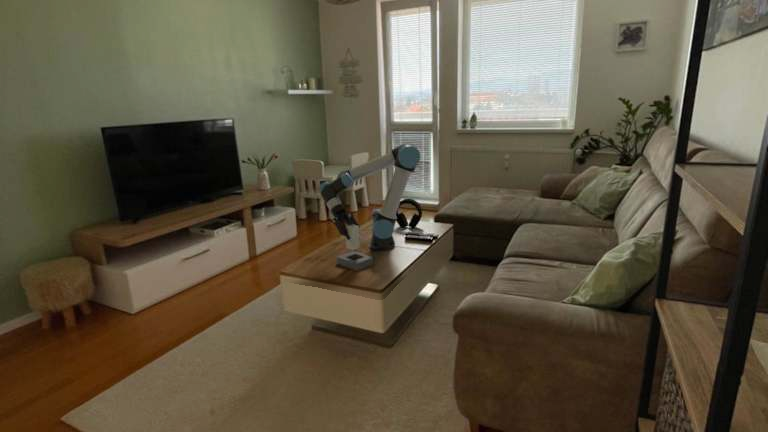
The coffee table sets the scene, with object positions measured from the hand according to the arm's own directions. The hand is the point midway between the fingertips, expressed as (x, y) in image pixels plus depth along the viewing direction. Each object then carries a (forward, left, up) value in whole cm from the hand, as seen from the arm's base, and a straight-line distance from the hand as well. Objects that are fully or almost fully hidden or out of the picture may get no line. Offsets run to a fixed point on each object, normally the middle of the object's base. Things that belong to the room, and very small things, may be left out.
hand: (357, 242), depth 224 cm
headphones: (-63, +43, -13) cm, 78 cm away
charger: (-3, -2, -4) cm, 5 cm away
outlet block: (-3, -2, -13) cm, 14 cm away
